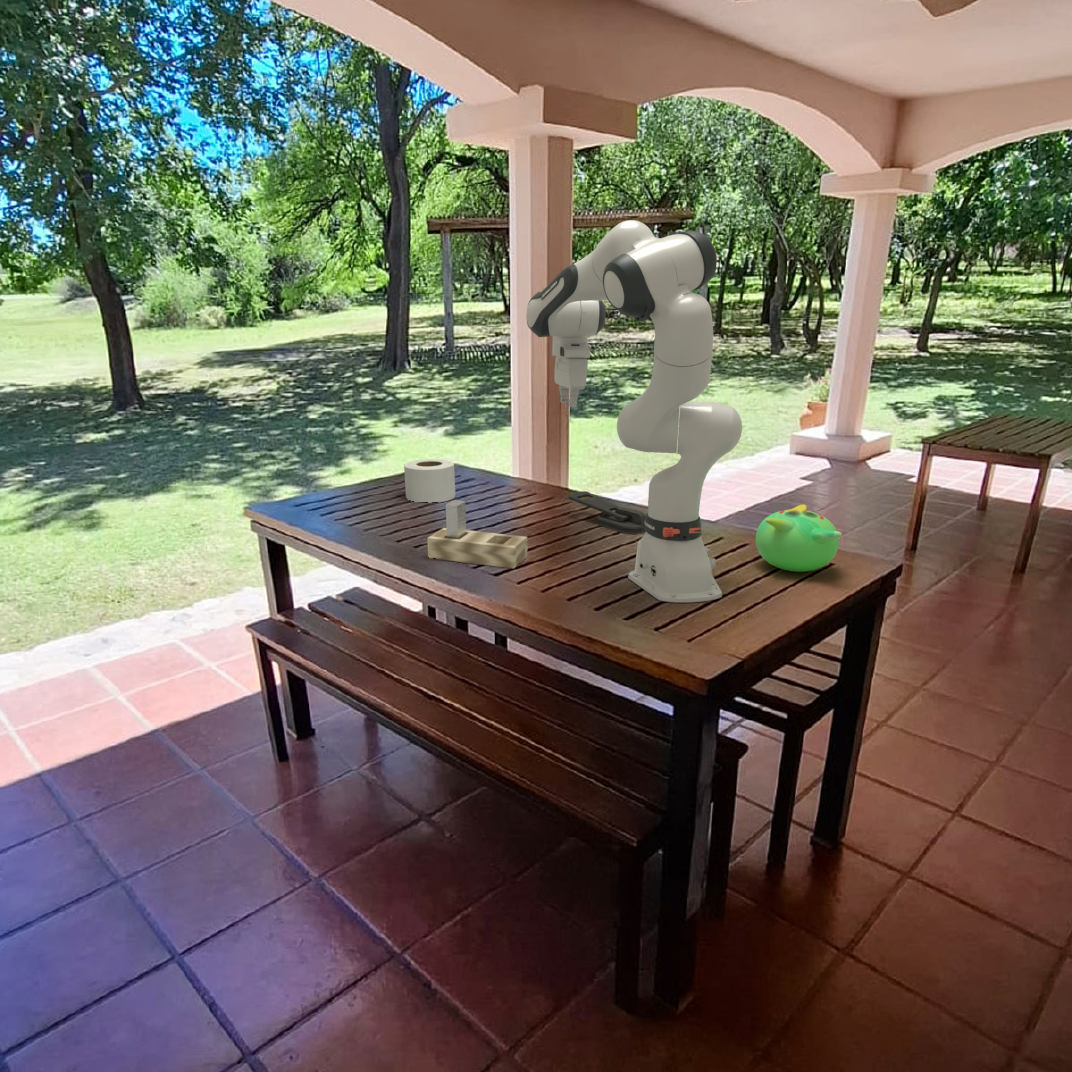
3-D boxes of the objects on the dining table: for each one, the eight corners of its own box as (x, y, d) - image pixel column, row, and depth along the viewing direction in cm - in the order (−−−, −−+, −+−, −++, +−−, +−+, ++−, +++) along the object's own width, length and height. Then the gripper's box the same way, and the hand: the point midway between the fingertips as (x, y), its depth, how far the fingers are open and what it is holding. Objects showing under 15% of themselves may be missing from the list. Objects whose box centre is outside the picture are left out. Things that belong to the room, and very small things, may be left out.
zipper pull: (585, 489, 216) (655, 506, 199) (585, 511, 218) (654, 529, 201) (564, 495, 210) (635, 512, 193) (564, 517, 212) (634, 536, 195)
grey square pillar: (466, 552, 181) (465, 501, 178) (458, 558, 177) (457, 505, 174) (455, 551, 182) (454, 500, 179) (447, 556, 178) (445, 504, 174)
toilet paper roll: (396, 500, 229) (394, 466, 226) (422, 489, 243) (420, 457, 240) (439, 505, 223) (438, 470, 220) (464, 494, 237) (463, 461, 234)
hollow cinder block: (527, 556, 179) (527, 536, 177) (514, 568, 171) (513, 547, 169) (444, 546, 186) (443, 527, 184) (428, 557, 178) (427, 537, 176)
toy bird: (831, 561, 177) (839, 501, 172) (838, 586, 161) (847, 521, 157) (752, 554, 181) (758, 496, 177) (752, 578, 166) (759, 514, 161)
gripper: (549, 347, 194) (548, 400, 198) (566, 350, 175) (565, 409, 179) (572, 347, 196) (571, 400, 199) (592, 350, 176) (590, 409, 180)
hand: (568, 405), depth 189 cm, fingers open, 8 cm apart
